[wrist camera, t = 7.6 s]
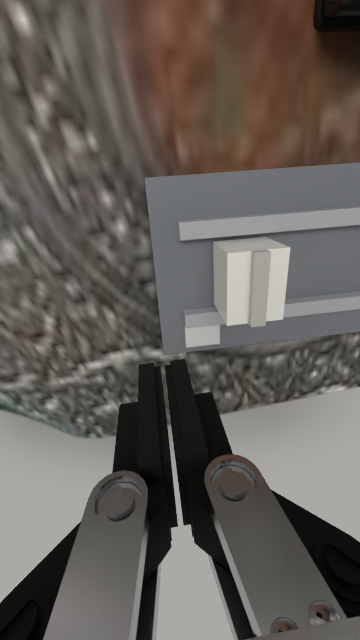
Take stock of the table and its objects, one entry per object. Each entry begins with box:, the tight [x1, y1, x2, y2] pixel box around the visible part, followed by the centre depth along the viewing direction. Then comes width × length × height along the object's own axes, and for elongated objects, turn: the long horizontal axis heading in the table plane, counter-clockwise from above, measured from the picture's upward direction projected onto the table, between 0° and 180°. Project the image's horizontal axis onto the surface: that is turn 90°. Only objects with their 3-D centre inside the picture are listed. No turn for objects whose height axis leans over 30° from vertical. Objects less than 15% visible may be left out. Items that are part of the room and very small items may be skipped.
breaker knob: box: [213, 237, 291, 327], centre depth 20 cm, size 5×4×5 cm
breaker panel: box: [145, 162, 360, 355], centre depth 23 cm, size 14×26×2 cm, turn 94°
